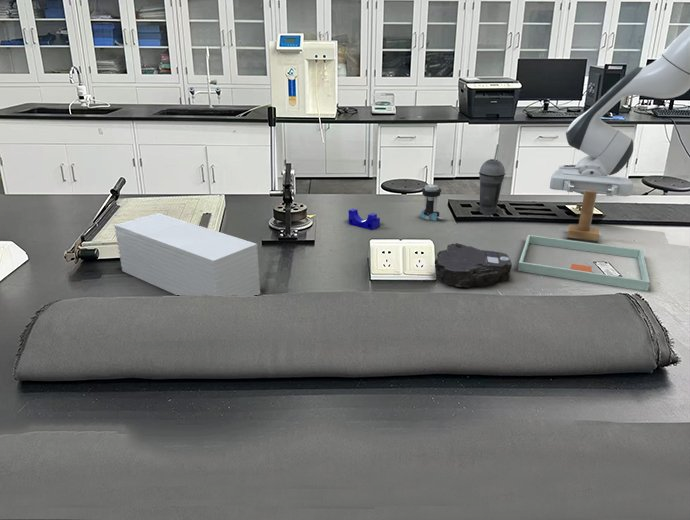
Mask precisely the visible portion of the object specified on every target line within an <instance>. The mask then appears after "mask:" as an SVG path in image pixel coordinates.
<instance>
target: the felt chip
mask: <svg viewBox="0 0 690 520" xmlns="http://www.w3.org/2000/svg"><path fill="white" fill-rule="evenodd" d="M570 269H572V270H579V271H585V272H592V270H593V269H592V266H590V265H584V264H578V263H577V264H576V263H571V266H570ZM592 273H593V272H592Z"/></svg>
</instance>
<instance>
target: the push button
mask: <svg viewBox="0 0 690 520" xmlns="http://www.w3.org/2000/svg"><path fill="white" fill-rule="evenodd" d="M441 193H442V188H439V185H438V184H431V183H429V184H425V185H424V187H422V188H421V194H422V195H423V196H424V202H423V203H424V204H423V208H422V209H423V210H421V211H420V218H421V219H425V220H426V221H435V222H436V221H439V220H440V219H441V220H443V219H444V217H441V216H440V212H439V211H438V197H440V196H441Z"/></svg>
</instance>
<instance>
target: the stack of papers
mask: <svg viewBox="0 0 690 520" xmlns="http://www.w3.org/2000/svg"><path fill="white" fill-rule="evenodd" d="M113 226H114V231H115V237H116V242H117V243H116V244H117V247H118V254H119V259H120V260H119V261H120V266H121V270H122V271H121V272H123V273H126V274H128V275H130V276H132V277H134V278H137V279H139V280H141V281H143V282H145V283H147V284H151V285H153V286H155V287H157V288H159V289H161V290H164V291H165V292H168V293H170V294H172V295H175V296H177V295H201V294H207V295H238V296H254V295H257V296H259V295H261V281H260V272H259V271H260V268H259V266H260V265H259V264H260V263H259V254H258V252H259V250H258V243H255V242H252V241H249V240H245V239H243V238H240V237H236V236H234V235H230V234H227V233H223V232H220V231H217V230H215V229H214V230H213V229H211V228H208V227H205V226H201V225H197V224H196V223H195V224H194V223H191V222H189V221H185V220H182V219H180V218H176V217H173V216H169V215H166V214H163V213H160V212H156V213H153V214H149V215H146V216H141V217H137V218H134V219H130V220H127V221H123V222H120V223H115V224H114V225H113Z"/></svg>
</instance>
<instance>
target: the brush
mask: <svg viewBox="0 0 690 520" xmlns="http://www.w3.org/2000/svg"><path fill="white" fill-rule="evenodd" d="M597 195H598V194H597V191H596V190H592V189H586V190H585V191H584V195H583V196H582V197H583V198H582V203H581V209H580V212H579V213H580V214H579V219H578V225H577V224H568V229H567V233H566V235H567V237H566V240H571V241H579V242H586V243H594V244H598V242H599V236H600V228H599V227H593V226H591V225H592V221H593V215H594V211H595V204H596V199H597Z"/></svg>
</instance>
